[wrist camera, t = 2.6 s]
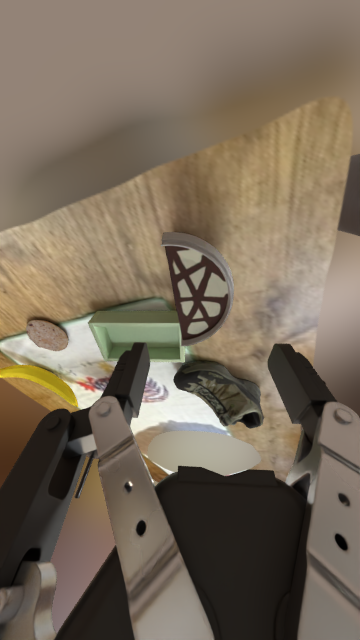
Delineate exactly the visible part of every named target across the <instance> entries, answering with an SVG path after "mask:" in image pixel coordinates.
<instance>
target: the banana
mask: <svg viewBox="0 0 360 640" xmlns="http://www.w3.org/2000/svg"><path fill="white" fill-rule="evenodd" d="M6 377H19V378H24V379H28V380H31V381H34V382H36V383H38V384H41V385H43V386H45V387H46V388H48V389H50V390H52V391H54V392H55V393H57V394H58V395H60V396H61V397H62V398H64V399H65V400H66V401H68V402H69V403H70V404H72V405H74V406H76V407H78V403H77V399H76V397H75V395H74V393H73V391H72V389H71V388H70V387H69V386H68V385H67V384H66V383H65V382H64V381H63V380H61V379H60V378H59V377H57V376H56V375H54V374H53V373H51V372H49V371H47V370H45V369H42V368H40V367H36V366H31V365H15V366H9V367H6V368H2V369H0V378H6Z"/></svg>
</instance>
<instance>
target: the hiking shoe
mask: <svg viewBox="0 0 360 640" xmlns="http://www.w3.org/2000/svg"><path fill="white" fill-rule="evenodd" d="M174 383H175V385H176V387H177V388H178V389H180V390H183V391H187V392H190V393H192V394H195V395H197V396H198V397H200V398H201V399H202V400H203V401H205V402H206V404H208V405H209V407H211V408H212V409H213V411H214V413H215V414H216V416H217V417H218V418H219V420H220V423H221V424H222V425H223V426H228V425H235V424H236V423H237V422H242V423H244V424H245V425H246V427H248V428H255V427H258V426H261V425H262V424H263V419H264V417H263V414H262V410H261V406H260V395H261V394H260V389H259V388H258V386H257V385H256V384H254V383H252V382H250V381H247V380H240V379H236V378H235V377H233V376H232V375H231V374H230V373H229V371H228V370H227V369H226V368H225V367H224V366H223V365H220V364H218V363H216V362H209V361H194V362H188V363H186V364H184V365H182V367H181V368H180V369H179V370H178V371H177V373H176V374H175V376H174Z"/></svg>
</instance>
